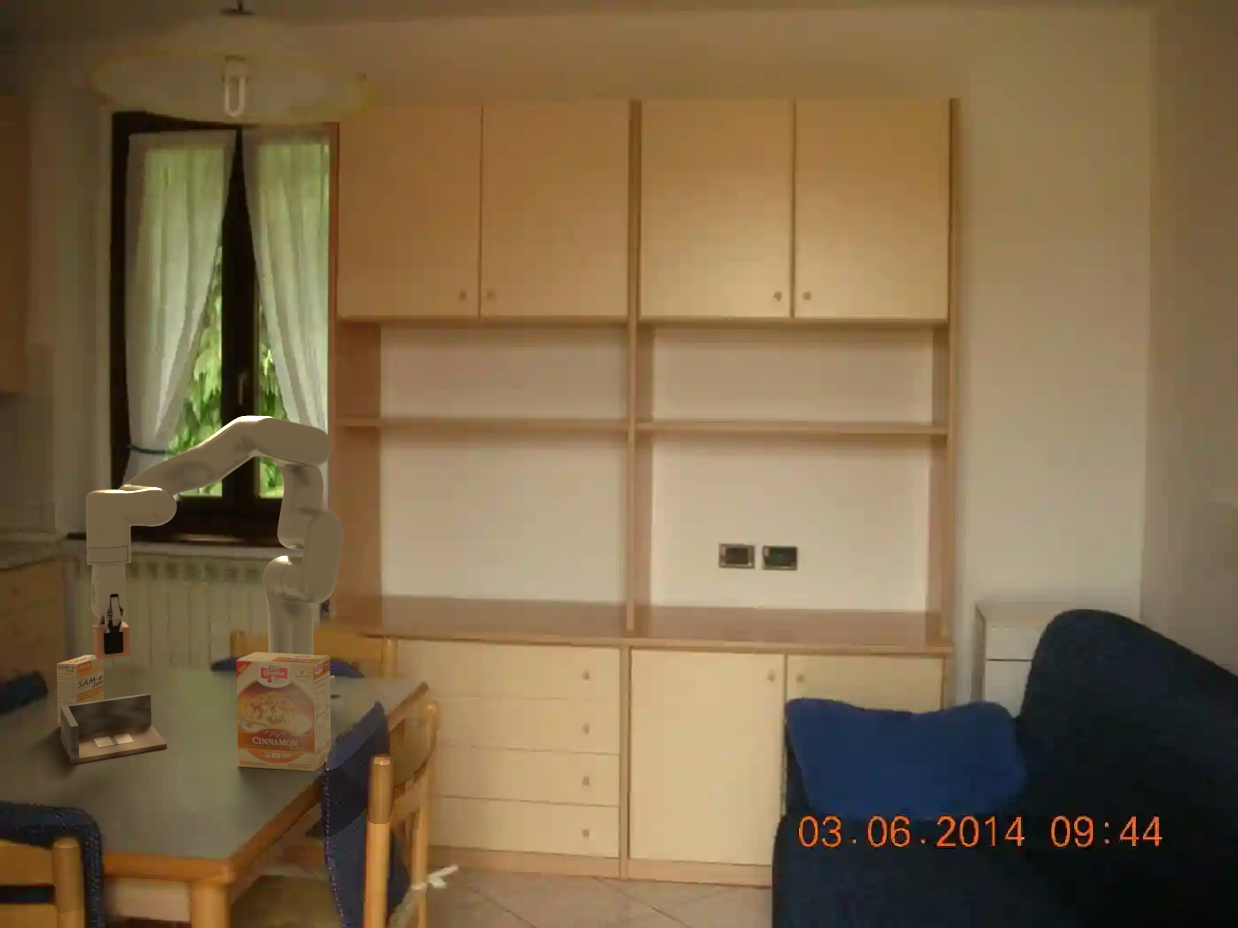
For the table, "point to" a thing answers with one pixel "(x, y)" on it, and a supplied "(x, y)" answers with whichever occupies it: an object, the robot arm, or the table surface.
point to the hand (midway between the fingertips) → (111, 649)
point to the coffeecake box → (283, 711)
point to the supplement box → (80, 681)
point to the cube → (99, 642)
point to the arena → (108, 728)
